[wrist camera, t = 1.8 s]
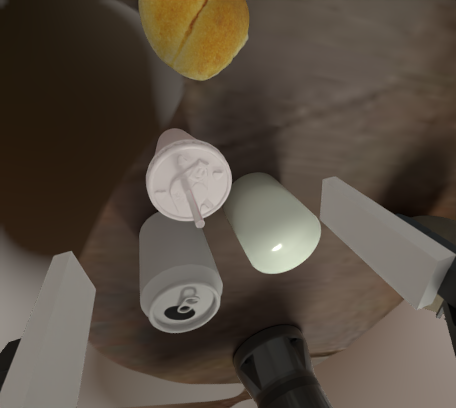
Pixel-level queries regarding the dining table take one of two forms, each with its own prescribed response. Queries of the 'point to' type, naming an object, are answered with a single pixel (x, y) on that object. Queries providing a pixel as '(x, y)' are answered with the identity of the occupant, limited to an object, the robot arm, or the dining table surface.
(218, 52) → the bread roll
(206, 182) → the smoothie
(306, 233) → the sage mug
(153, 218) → the can
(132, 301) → the dining table surface
